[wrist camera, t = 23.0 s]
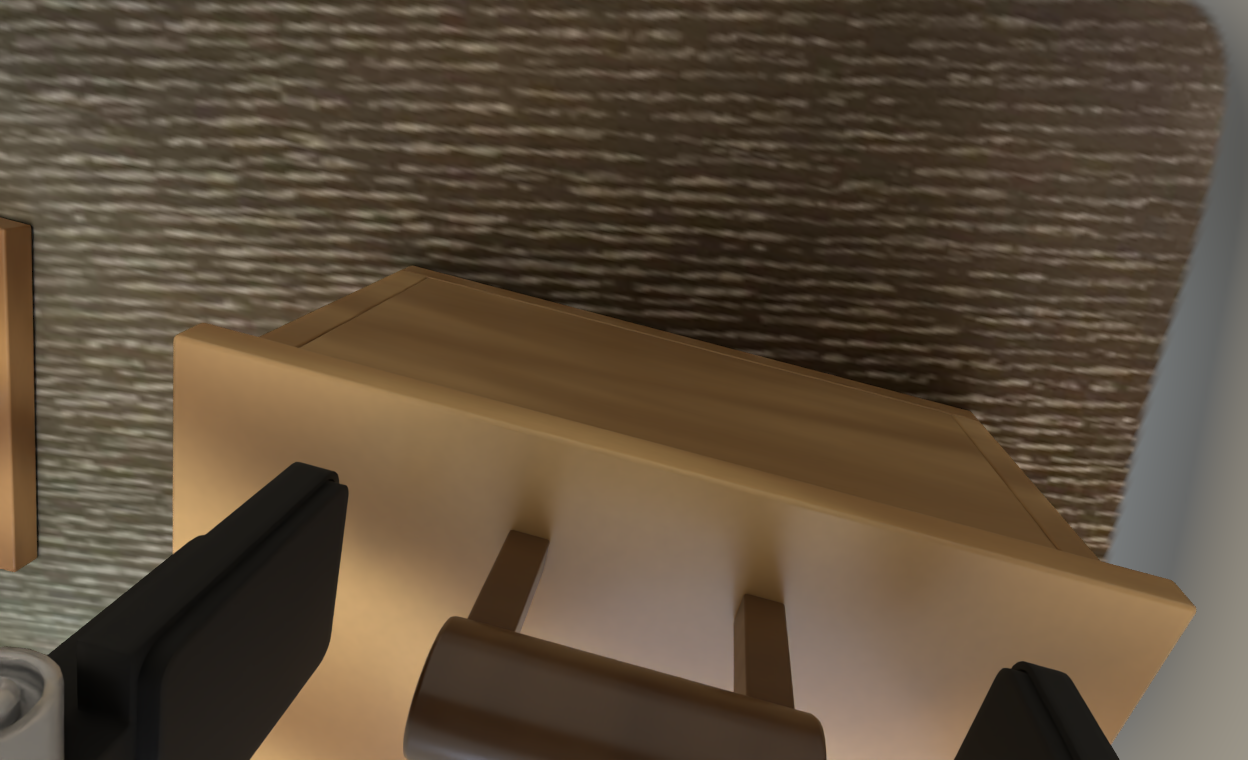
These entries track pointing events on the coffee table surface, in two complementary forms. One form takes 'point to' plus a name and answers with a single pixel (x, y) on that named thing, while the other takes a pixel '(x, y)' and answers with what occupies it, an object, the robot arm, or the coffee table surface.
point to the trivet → (17, 399)
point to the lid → (629, 584)
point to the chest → (686, 397)
